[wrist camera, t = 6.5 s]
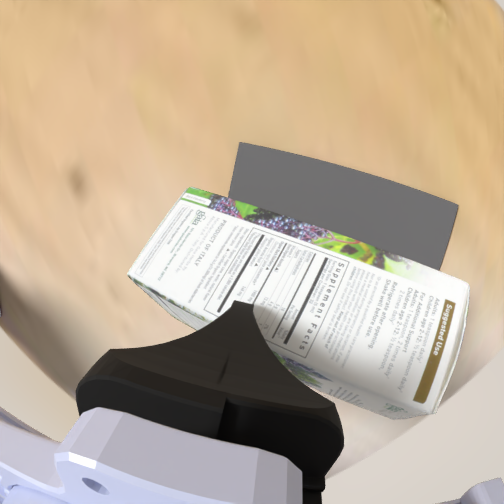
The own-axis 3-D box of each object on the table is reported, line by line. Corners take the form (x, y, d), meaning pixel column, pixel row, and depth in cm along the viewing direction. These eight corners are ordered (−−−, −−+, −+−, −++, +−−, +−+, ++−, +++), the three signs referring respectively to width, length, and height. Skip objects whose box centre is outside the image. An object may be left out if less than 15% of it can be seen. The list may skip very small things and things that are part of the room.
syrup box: (216, 242, 21) (434, 322, 15) (168, 319, 18) (399, 422, 13) (186, 183, 16) (476, 277, 10) (119, 277, 14) (440, 420, 8)
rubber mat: (203, 336, 23) (202, 339, 22) (240, 142, 19) (239, 142, 19) (395, 367, 23) (396, 369, 23) (456, 204, 19) (458, 204, 19)
